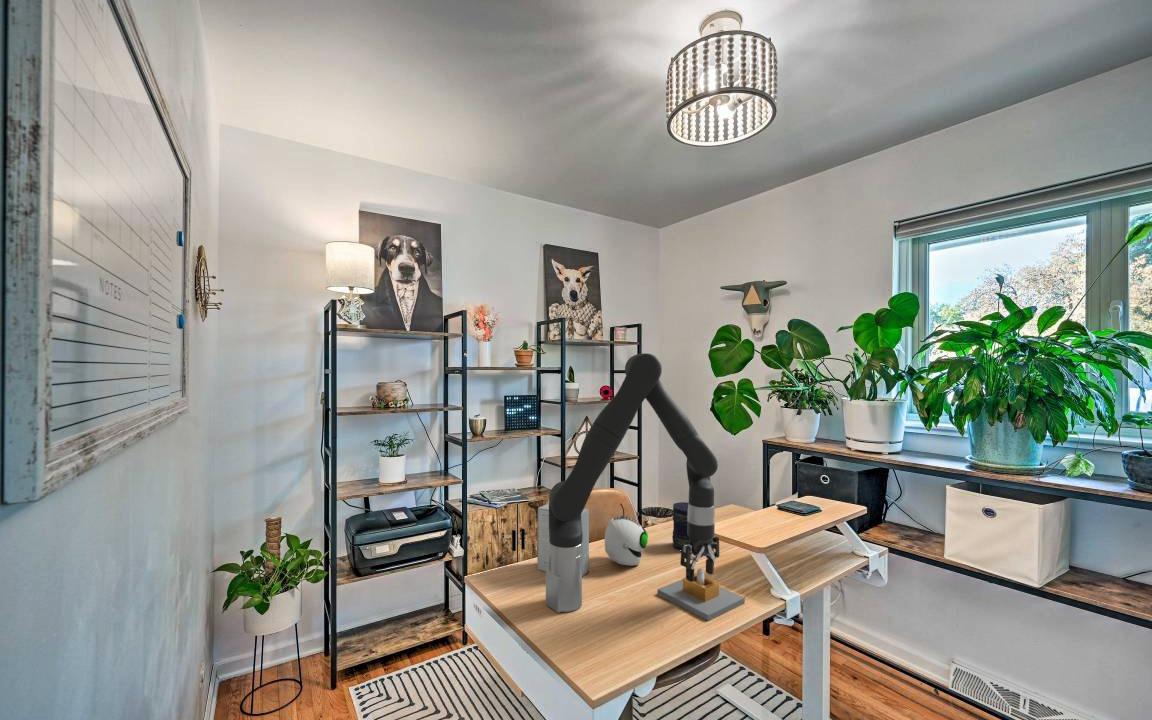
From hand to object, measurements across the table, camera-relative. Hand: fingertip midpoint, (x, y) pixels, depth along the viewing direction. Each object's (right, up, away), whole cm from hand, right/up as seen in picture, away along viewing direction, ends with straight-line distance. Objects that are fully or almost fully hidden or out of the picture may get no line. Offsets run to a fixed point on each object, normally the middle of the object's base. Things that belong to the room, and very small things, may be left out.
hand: (700, 577), depth 139 cm
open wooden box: (0, -5, 0) cm, 5 cm away
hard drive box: (-40, -6, +18) cm, 44 cm away
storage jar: (+5, -7, +39) cm, 39 cm away
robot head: (-19, -6, +23) cm, 31 cm away
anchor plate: (0, -6, 0) cm, 6 cm away
